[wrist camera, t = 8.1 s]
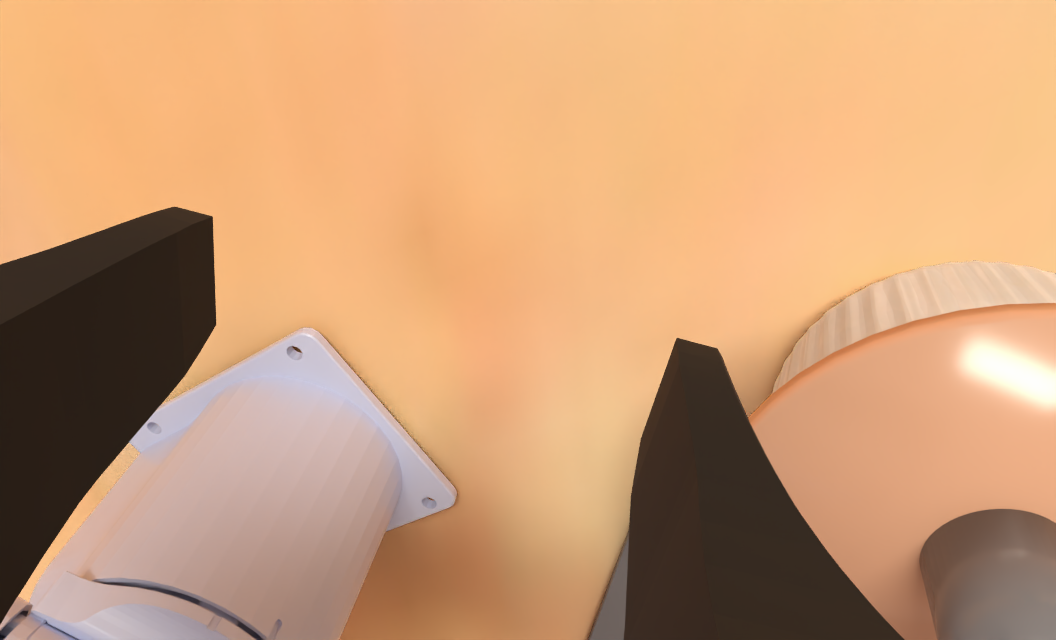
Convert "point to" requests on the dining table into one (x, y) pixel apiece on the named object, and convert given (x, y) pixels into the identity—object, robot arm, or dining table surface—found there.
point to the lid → (932, 469)
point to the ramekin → (917, 304)
